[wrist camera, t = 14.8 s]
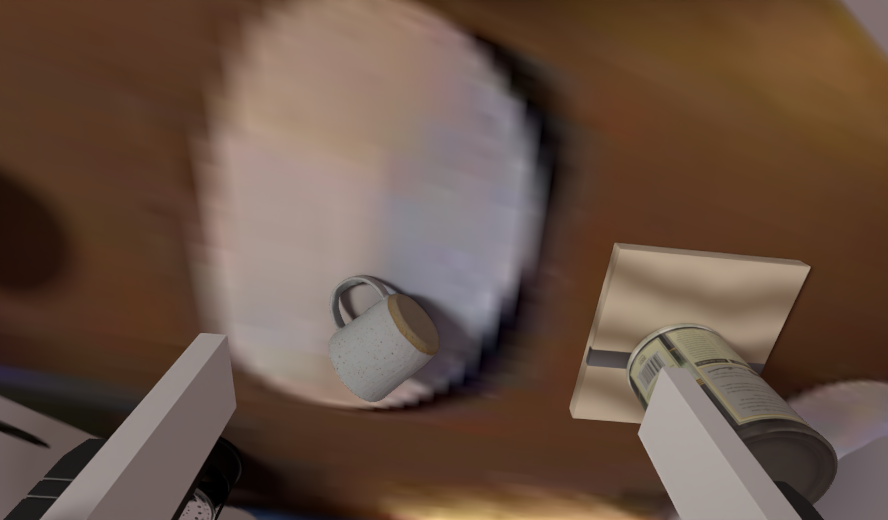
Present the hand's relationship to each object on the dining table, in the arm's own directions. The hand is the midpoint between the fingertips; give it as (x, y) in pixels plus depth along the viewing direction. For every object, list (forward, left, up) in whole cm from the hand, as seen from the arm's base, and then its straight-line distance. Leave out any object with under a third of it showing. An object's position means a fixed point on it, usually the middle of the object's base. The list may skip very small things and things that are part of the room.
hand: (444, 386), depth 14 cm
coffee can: (+17, +26, -27) cm, 41 cm away
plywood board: (+15, +26, -29) cm, 41 cm away
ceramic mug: (+15, -5, -29) cm, 33 cm away
